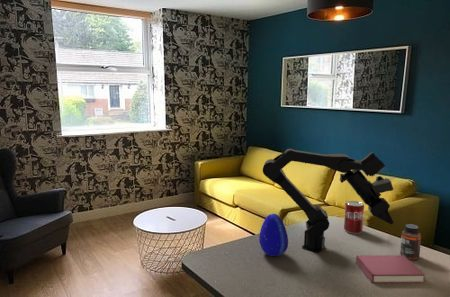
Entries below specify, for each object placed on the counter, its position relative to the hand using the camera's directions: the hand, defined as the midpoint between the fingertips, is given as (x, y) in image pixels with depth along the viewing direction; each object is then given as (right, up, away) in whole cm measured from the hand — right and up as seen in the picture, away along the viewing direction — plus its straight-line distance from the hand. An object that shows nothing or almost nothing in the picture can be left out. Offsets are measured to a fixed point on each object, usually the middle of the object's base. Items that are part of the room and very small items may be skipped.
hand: (388, 218), depth 117 cm
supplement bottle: (+7, -14, 0) cm, 15 cm away
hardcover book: (-5, -15, -10) cm, 19 cm away
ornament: (-40, -13, +2) cm, 43 cm away
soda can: (-4, -10, +22) cm, 24 cm away
